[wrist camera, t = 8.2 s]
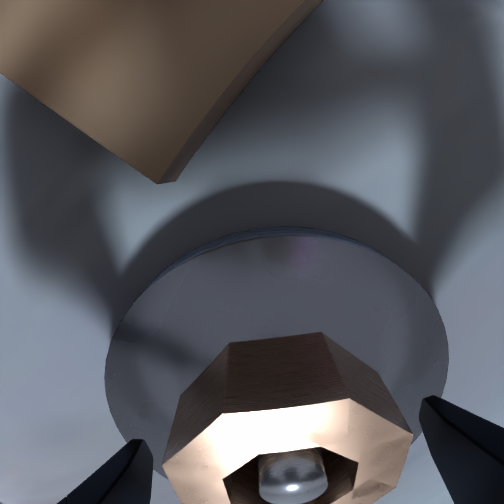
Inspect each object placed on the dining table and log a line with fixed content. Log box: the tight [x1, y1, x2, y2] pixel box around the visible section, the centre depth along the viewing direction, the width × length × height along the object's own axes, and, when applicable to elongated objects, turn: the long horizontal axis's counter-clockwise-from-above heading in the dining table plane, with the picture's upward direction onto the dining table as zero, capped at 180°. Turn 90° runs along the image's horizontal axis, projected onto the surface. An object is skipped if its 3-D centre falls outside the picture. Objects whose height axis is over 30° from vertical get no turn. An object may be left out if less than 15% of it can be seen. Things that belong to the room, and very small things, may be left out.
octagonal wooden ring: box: [162, 332, 413, 504], centre depth 8 cm, size 6×6×3 cm
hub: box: [105, 227, 449, 504], centre depth 9 cm, size 12×12×4 cm
